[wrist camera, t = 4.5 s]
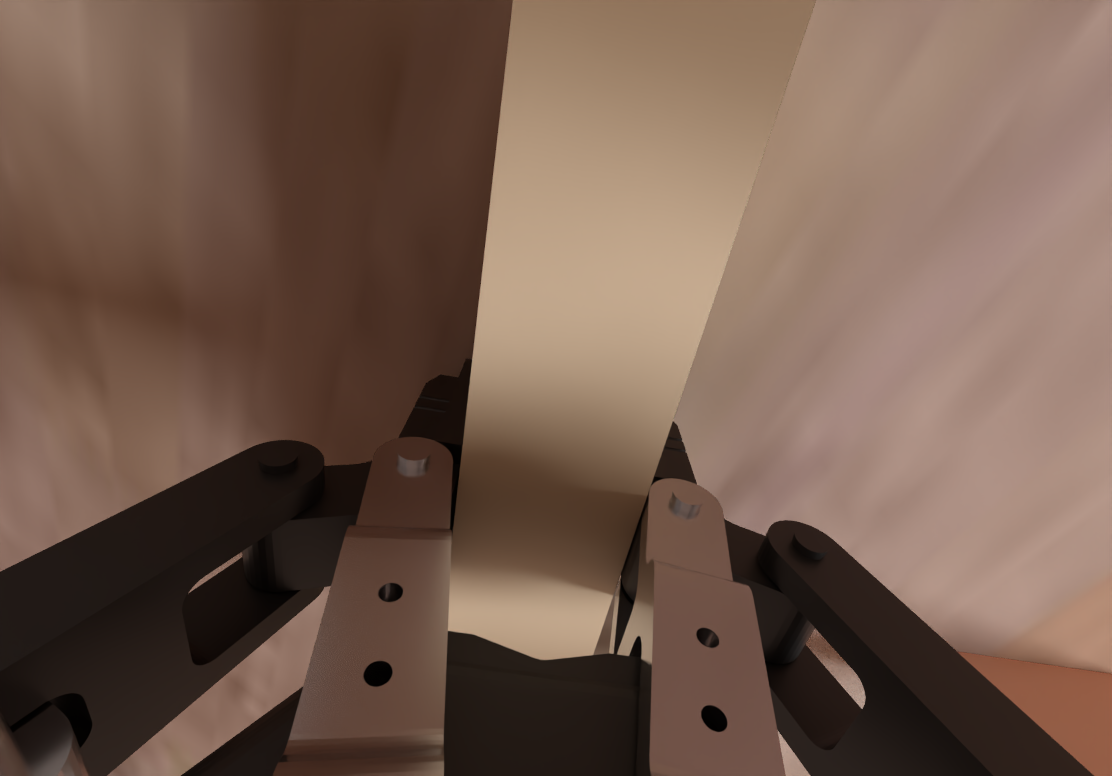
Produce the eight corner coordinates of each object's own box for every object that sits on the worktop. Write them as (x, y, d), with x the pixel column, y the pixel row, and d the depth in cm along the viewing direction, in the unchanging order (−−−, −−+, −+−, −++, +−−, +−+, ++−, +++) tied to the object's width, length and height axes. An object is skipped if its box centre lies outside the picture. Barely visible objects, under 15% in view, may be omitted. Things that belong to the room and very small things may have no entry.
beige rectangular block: (391, -57, 9) (222, -179, 5) (857, 44, 9) (1100, 21, 5) (377, 574, 16) (309, 756, 12) (639, 610, 17) (664, 796, 13)
